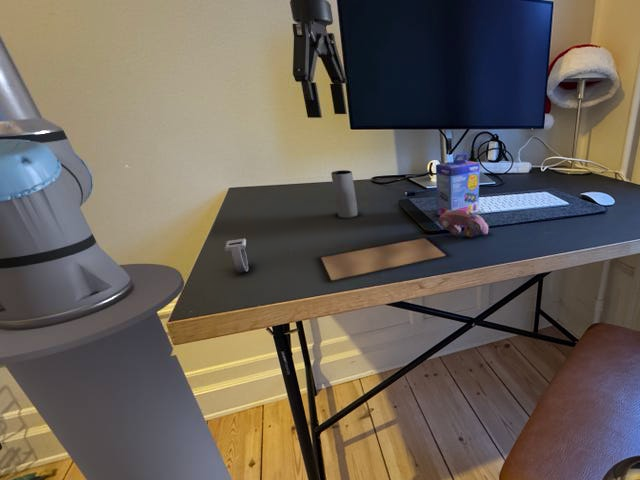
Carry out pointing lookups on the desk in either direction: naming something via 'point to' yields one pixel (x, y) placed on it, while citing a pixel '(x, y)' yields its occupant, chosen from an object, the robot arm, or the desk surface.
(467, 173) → the ink cartridge box
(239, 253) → the wristwatch
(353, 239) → the desk surface
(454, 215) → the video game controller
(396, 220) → the desk surface
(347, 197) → the planter
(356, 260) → the cork mat
